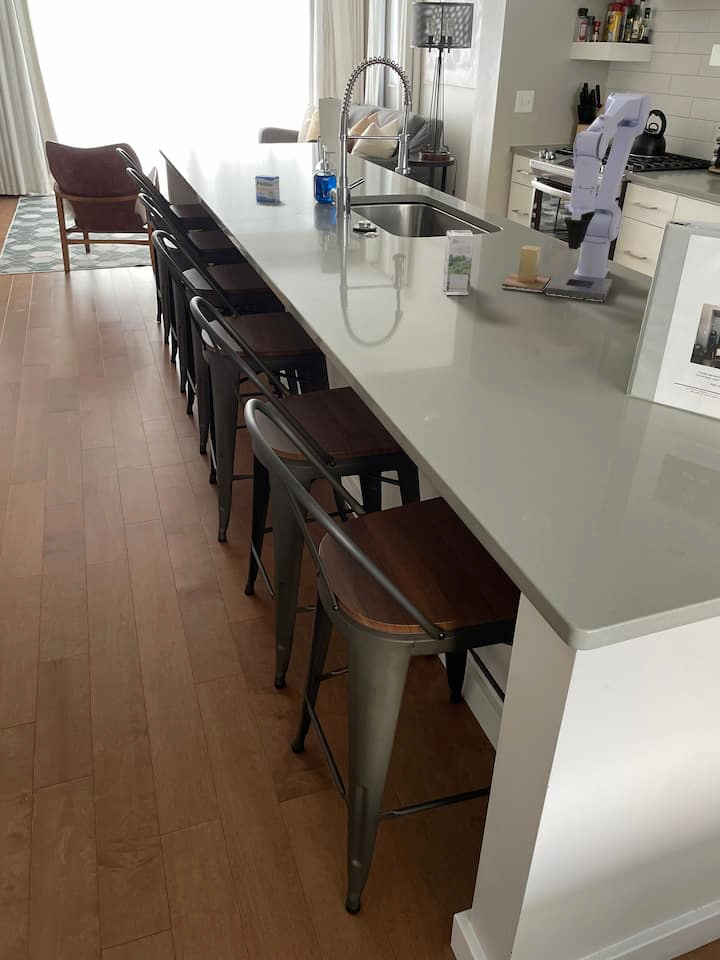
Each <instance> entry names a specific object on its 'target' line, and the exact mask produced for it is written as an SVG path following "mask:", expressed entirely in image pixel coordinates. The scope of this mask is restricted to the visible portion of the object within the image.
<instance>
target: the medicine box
mask: <svg viewBox="0 0 720 960" xmlns="http://www.w3.org/2000/svg"><path fill="white" fill-rule="evenodd" d="M254 178H255V182H254V183H255V200H256V201H257V202H269V203H270V202H271V203H276V202H279V201H280V198H281V197H280V177H279V176H277V175H265V174H259V175H256V176H255V177H254Z"/></svg>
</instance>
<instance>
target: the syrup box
mask: <svg viewBox="0 0 720 960" xmlns="http://www.w3.org/2000/svg"><path fill="white" fill-rule="evenodd" d="M445 240H446V241H445V252H444V253H445V256H444V268H443V283H442V288H443V287H444V289H445V291H446V292H469V293H470V286H471V285H470V284H471V275H472V264H473V253H474V252H473V251H474V250H473V249H474V242H475V241H474V240H475V237H474V235H473V232H472V231H471V230H469V229H468V230H467V229H466V230H458V229H457V230H455V229H454V230H449V229H448V230H446V239H445ZM444 289H443V290H444Z"/></svg>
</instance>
